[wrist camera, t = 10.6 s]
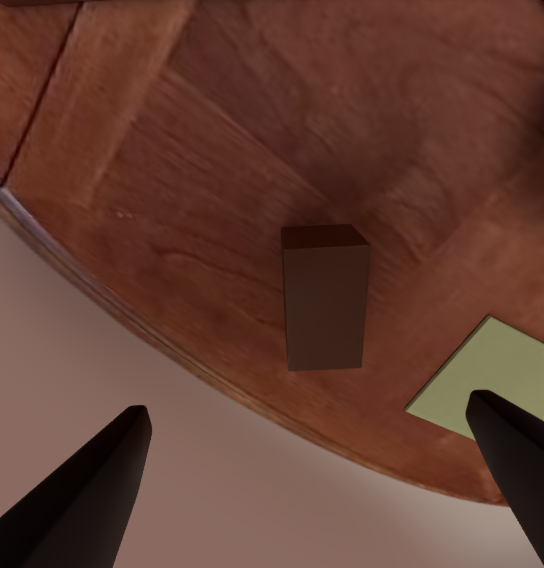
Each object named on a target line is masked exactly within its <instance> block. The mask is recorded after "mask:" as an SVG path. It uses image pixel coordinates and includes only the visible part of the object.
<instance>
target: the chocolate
mask: <svg viewBox="0 0 544 568" xmlns="http://www.w3.org/2000/svg"><path fill="white" fill-rule="evenodd" d="M281 245H282V267H283V290H284V312H285V333H286V346H287V359H288V370H289V371H305V370H326V369H348V368H361V367H362V356H363V342H364V328H365V315H366V301H367V287H368V273H369V260H370V246H371V245H370V244H369V243H368V242H367V241H366V240H365V239H364V238H363V237H362V235H361V234H360V233H359V232H358V231H357V230H356V229H355V228H354V227H353V226H352V225H351V224H341V225H323V226H305V227H287V228H281Z"/></svg>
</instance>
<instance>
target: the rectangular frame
mask: <svg viewBox="0 0 544 568" xmlns="http://www.w3.org/2000/svg"><path fill="white" fill-rule="evenodd" d="M83 1H98V0H0V4H2V5H4V6H6V7H15V6H19V5H20V6H26V5H40V4H55V3H69V2H83Z"/></svg>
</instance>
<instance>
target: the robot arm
mask: <svg viewBox="0 0 544 568" xmlns="http://www.w3.org/2000/svg"><path fill="white" fill-rule="evenodd" d="M465 416H466V420H467V423H468V425H469V427H470V429H471V431H472V433H473V436H474V438H475V440H476V442H477V444H478V446H479V449H480V451H481V453H482V455H483V457H484V460H485V462H486V464H487V466H488V468H489V470H490V472H491V474H492V476H493V478H494V480H495V482H496V484H497V485H498V487H499V489H500V491H501V492H502V494H503V496H504V498H505V499H506V501H507V503H508V504H509V506H510V508H511V510H512V511H513V513H514V515H515V517H516V518H517V520H518V522H519V524H520V525H521V527H522V529H523V530H524V532H525V534H526V536H527V537H528V539H529V541H530V543H531V544H532V546H533V548H534V549H535V551H536V553H537V555H538V556H539V558H540V560H541V561H542V563H543V565H544V421H543V420H541V419H540V418H538V417H536V416H534V415H533V414H531V413H529V412H527V411H526V410H524V409H522V408H520V407H519V406H517V405H515V404H513V403H512V402H510V401H508V400H506V399H505V398H503V397H501V396H499V395H498V394H496V393H494V392H492V391H490V390H487V389H482V390H473V391H472V392H471V393H470V396H469V400H468V404H467V408H466V412H465ZM151 436H152V425H151V421H150V418H149V414H148V411H147V408H146V406H144V405H135V406H134V405H133V406H130V407H128V408H127V409H125V410H124V411H123V412H122V413H121V414H120V415H118V416H117V417H116V418H115V419H114V420H113V421H111V422H110V423H109V424H108V425H107V426H106V427H105V428H103V429H102V430H101V431H100V432H99V433H98V434H96V435H95V436H94V437H93V438H92V439H91V440H90V441H88V442H87V443H86V444H85V445H84V446H82V447H81V448H80V449H79V450H78V451H77V452H75V453H74V454H73V455H72V456H71V457H70V458H69V459H67V460H66V461H65V462H64V463H63V464H62V465H60V466H59V467H58V468H57V469H56V470H55V471H53V472H52V473H51V474H50V475H49V476H48V477H46V478H45V479H44V480H43V481H42V482H41V483H40V484H38V485H37V486H36V487H35V488H34V489H33V490H31V491H30V492H29V493H28V494H27V495H26V496H25V497H23V498H22V499H21V500H20V501H19V502H17V503H16V504H15V505H14V506H13V507H12V508H11V509H9V510H8V511H7V512H6V513H5V514H3V515H2V516H1V517H0V568H113V564H114V561H115V559H116V556H117V553H118V550H119V547H120V544H121V541H122V538H123V535H124V532H125V529H126V527H127V524H128V521H129V518H130V515H131V512H132V509H133V506H134V503H135V500H136V497H137V494H138V490H139V486H140V482H141V478H142V474H143V470H144V465H145V461H146V457H147V453H148V449H149V444H150V440H151Z"/></svg>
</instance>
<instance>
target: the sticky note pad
mask: <svg viewBox="0 0 544 568" xmlns="http://www.w3.org/2000/svg"><path fill="white" fill-rule="evenodd" d="M482 389H487V390H490V391H492V392H494V393H496V394H498V395H499V396H501V397H503V398H505V399H506V400H508V401H510V402H512V403H513V404H515V405H517V406H519V407H520V408H522V409H524V410H526V411H527V412H529V413H531V414H533V415H534V416H536V417H538V418H540V419H541V420H543V421H544V343H542V342H540V341H538V340H536V339H534V338H533V337H531V336H529V335H527V334H525V333H523V332H521V331H519V330H517V329H515V328H513V327H511V326H509V325H507V324H505V323H503V322H501V321H499V320H497V319H495V318H494V317H492V316H490V315H488V316H487V317H486V318H485V319H484V320H483V321H482V322H481V323H480V325H479V326H478V327H477V328H476V329H475V330H474V331H473V332H472V334H471V335H470V336H469V337H468V338H467V339H466V340H465V341H464V343H463V344H462V345H461V346H460V347H459V348H458V349H457V350H456V351H455V353H454V354H453V355H452V356H451V357H450V358H449V359H448V360H447V362H446V363H445V364H444V365H443V366H442V367H441V368H440V369H439V371H438V372H437V373H436V374H435V375H434V376H433V377H432V378H431V379H430V381H429V382H428V383H427V384H426V385H425V386H424V387H423V388H422V390H421V391H420V392H419V393H418V394H417V395H416V396H415V397H414V399H413V400H412V401H411V402H410V403H409V404H408V405H407V406H406V407H405V411H406V412H408V413H410V414H413V415H415V416H418V417H420V418H423V419H425V420H427V421H430V422H432V423H435V424H437V425H439V426H442V427H444V428H447V429H449V430H452V431H454V432H456V433H459V434H461V435H464V436H466V437H469V438H471V439H473V440H475V438H474V436H473V433H472V431H471V429H470V427H469V425H468V423H467V420H466V416H465V412H466V408H467V404H468V400H469V396H470V393H471V392H472V391H473V390H482Z"/></svg>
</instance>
